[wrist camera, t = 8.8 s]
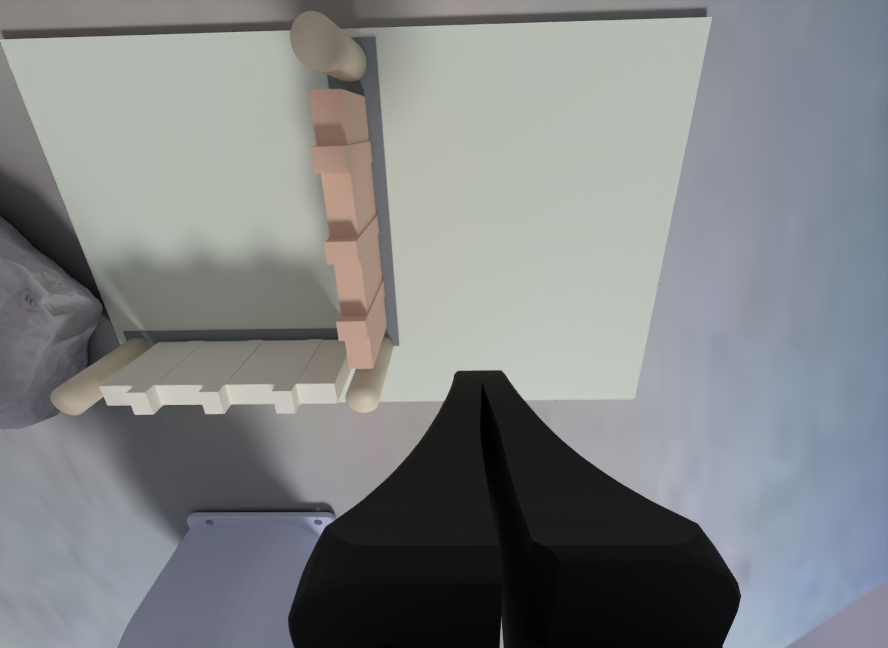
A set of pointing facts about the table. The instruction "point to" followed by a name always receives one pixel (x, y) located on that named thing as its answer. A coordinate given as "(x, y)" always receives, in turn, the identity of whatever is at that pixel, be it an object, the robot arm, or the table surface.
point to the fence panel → (345, 184)
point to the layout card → (383, 189)
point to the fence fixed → (224, 376)
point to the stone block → (38, 330)
